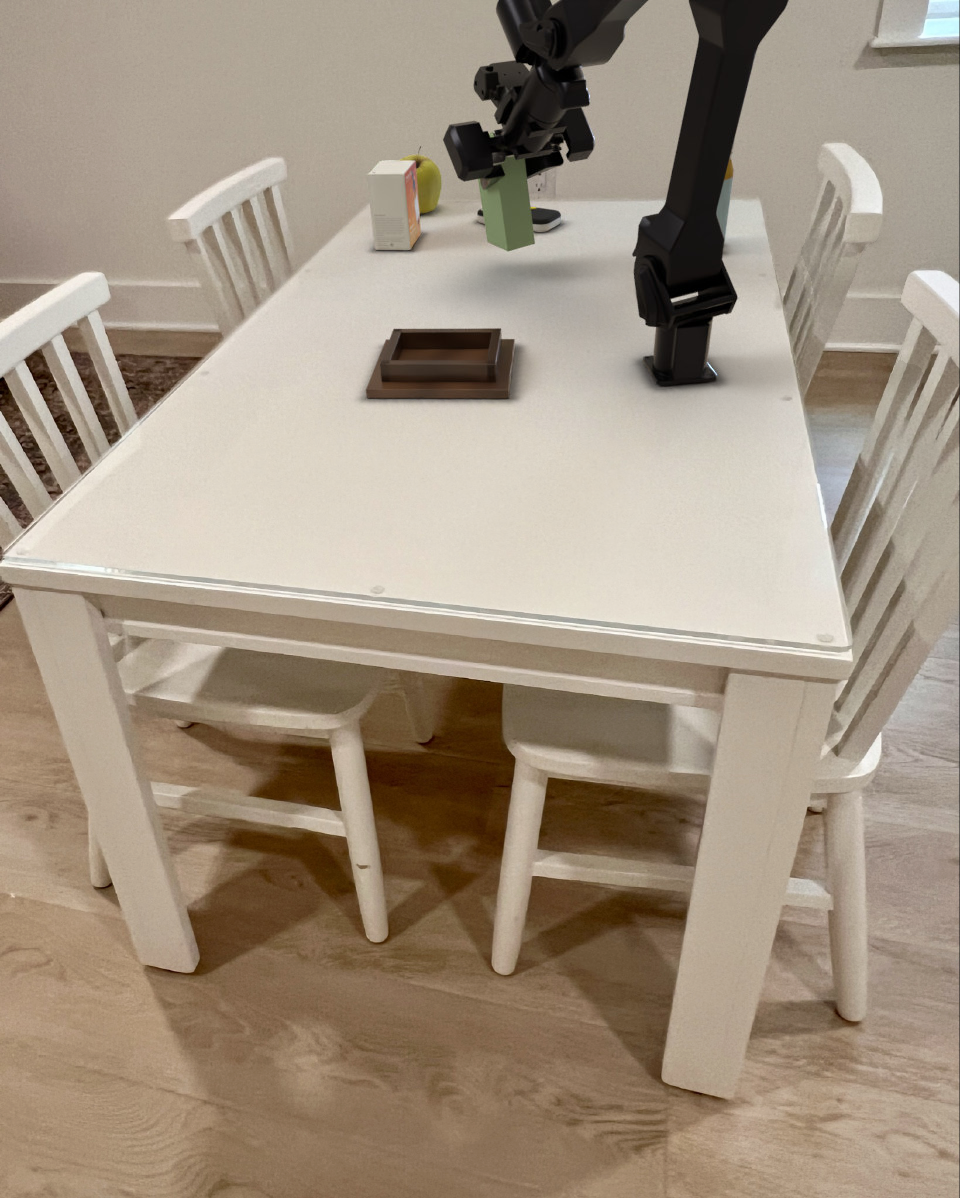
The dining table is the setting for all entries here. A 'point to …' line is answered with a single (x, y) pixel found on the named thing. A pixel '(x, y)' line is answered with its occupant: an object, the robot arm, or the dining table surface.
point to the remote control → (536, 218)
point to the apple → (426, 182)
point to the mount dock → (443, 364)
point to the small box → (394, 204)
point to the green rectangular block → (508, 208)
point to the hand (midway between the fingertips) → (498, 183)
